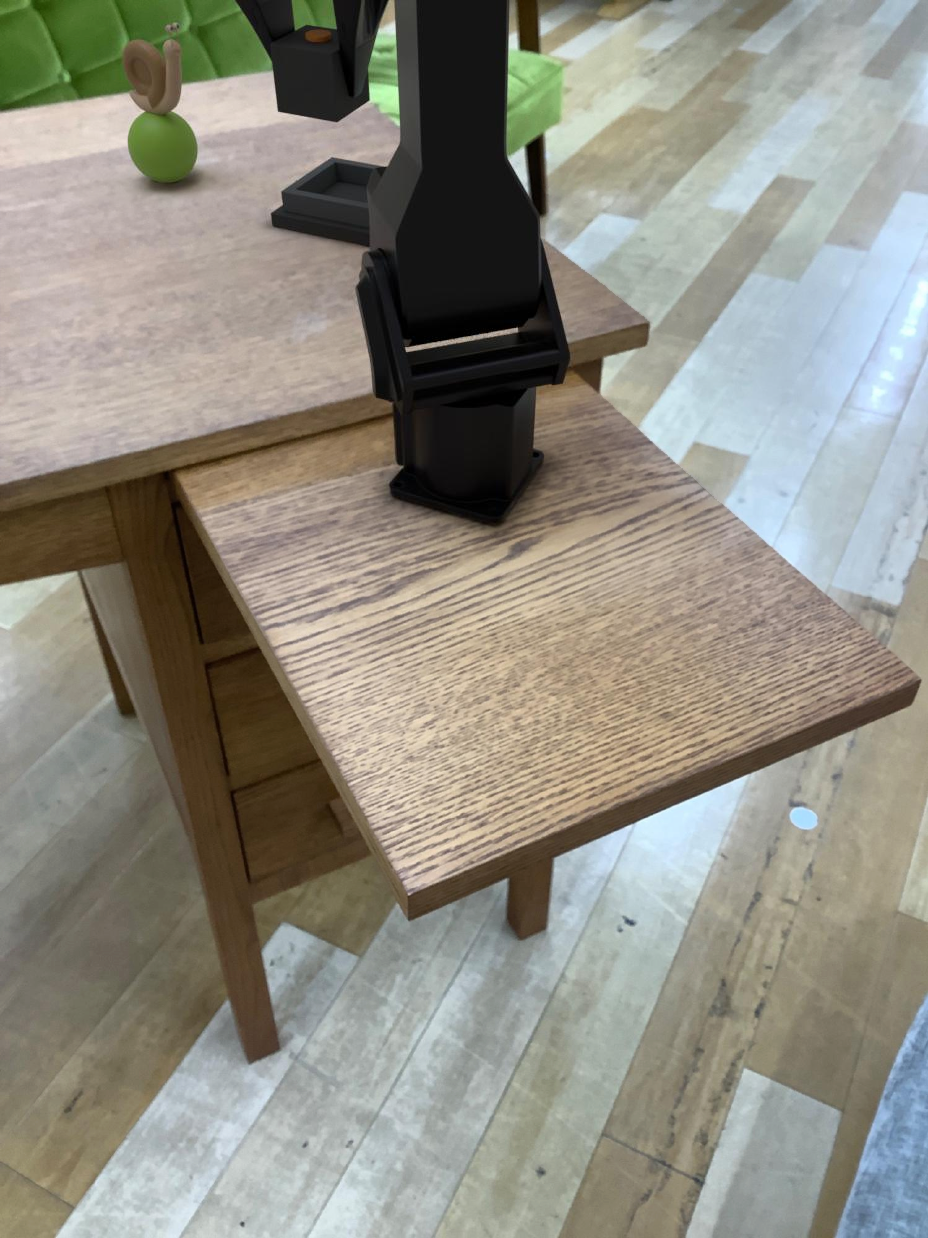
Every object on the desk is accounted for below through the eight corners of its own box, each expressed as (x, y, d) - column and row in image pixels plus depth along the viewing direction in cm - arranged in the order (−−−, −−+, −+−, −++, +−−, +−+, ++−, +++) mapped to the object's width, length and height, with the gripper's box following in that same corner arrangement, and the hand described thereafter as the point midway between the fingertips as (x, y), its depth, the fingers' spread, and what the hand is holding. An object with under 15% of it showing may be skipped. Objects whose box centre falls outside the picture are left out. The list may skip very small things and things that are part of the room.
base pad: (430, 202, 82) (429, 169, 80) (376, 247, 76) (373, 213, 75) (331, 183, 85) (328, 151, 83) (272, 225, 79) (267, 192, 77)
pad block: (370, 100, 68) (366, 27, 65) (337, 122, 65) (331, 47, 62) (312, 90, 70) (305, 18, 66) (277, 111, 67) (268, 38, 64)
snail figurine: (180, 200, 82) (148, 33, 74) (121, 184, 85) (84, 20, 76) (225, 178, 86) (199, 14, 77) (168, 162, 88) (136, 3, 80)
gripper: (514, -228, 58) (505, 72, 69) (233, -246, 64) (266, 35, 75) (428, -202, 51) (433, 128, 62) (120, -224, 56) (175, 83, 68)
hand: (323, 89), depth 67 cm, fingers closed on pad block, 4 cm apart
